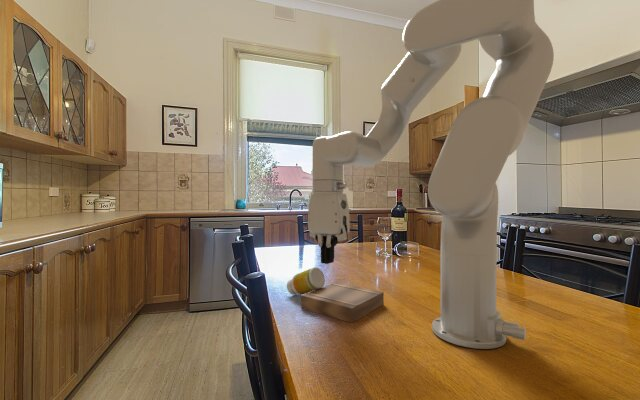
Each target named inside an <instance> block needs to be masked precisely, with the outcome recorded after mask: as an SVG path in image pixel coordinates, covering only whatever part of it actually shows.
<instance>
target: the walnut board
mask: <svg viewBox="0 0 640 400" xmlns="http://www.w3.org/2000/svg"><path fill="white" fill-rule="evenodd" d="M384 294H385V293H384V291H379V290H375V289H371V288H364V287H360V286H355V285H350V284H345V283H341V282H340V283H339V282H334V283H331V284H329V285H326V286H325V285H324V286H323V287H322V288H320V289H317V290H314V291H311V292H308V293H306V294H303V295H301V296H300V298H301V303H300V304H301V305H300V307H301V309H303V310H307V311H310V312H314V313H316V314H320V315H323V316H327V317H330V318H333V319H338V320H341V321H344V322H348V323H354V322H356V321H358V320H359V319H361V318H363V317H364V316H367V315H368V314H370V313H371V312H373V311H375V310H377V309H379V308H380V307H382V306H384V305H385V303H384Z"/></svg>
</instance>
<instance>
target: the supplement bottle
mask: <svg viewBox="0 0 640 400" xmlns="http://www.w3.org/2000/svg"><path fill="white" fill-rule="evenodd" d="M291 278H292V279H289V280H288V281H287V283H286V290H287V291H288V293H289V294H290V295H292V296H295V295H303V294H306V293H309V292H312V291H314V290H317V289H320V288H323V287H325V283H326V280H325V278H326V277H325V274H324V273H323V270H321V268H319V267H316V266H315V267H312V268H308V269H306V270H304V271H302V272H300V273H296V274H295V275H293V277H291ZM294 294H295V295H294Z"/></svg>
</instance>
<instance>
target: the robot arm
mask: <svg viewBox="0 0 640 400" xmlns="http://www.w3.org/2000/svg"><path fill="white" fill-rule="evenodd" d="M550 39H551V38H550V37H549V36H548V35H547V34H546V32H545V31H544V30H543V29H542V28H541V27H540V26H539V25H538V23H537V22H536V16H535V0H437V1H435V2H432V3H430V4H428V5H427V6H424V7H423V8H421V9H420V10H419V11H417V12H416V13H414V15H412V16H411V17H410V18H409V20H408V21H407V22H406V25H405V26H404V28H403V32H402V43H403V46H404V48H405V49H406V51H407V53H406V54H405V55H404V57H403V58H402V60H401V61H400V62H399V64H398V65H397V66H396V68H395V69H394V70H393V71H392V73H391V74H390V75H389V76H388V77H387V79H386V80H385V81H384V82H383V84H382V86H381V89H380V92H381V93H380V95H381V111H380V115H379V118H378V120H377V121H376V123H375V124H374V125H373V127H372V128H371V130H369V132H368V133H367V135H365V134H361V133H359V132H355V131H350V130H349V131H344V132H340V133H337V134H334V135H331V136H319V137H317V138H315V139H314V140H313V142H312V185H311V186H312V193H311V194H310V198H309V200H308V201H309V203H308V210H307V211H308V213H307V228H308V231H309V237H310V238H313V239H314V240H316V242H317V243H318V247H320V263H321V264H324V265H328V264H332V263H334V261H335V247H337V244H338V243H339V242H342V241H345V240H347V239H348V237H347V235H348V233H350V228H351V226H350V224H351V223H350V209H349V201H348V198H347V193H344V189H347V186H348V185H347V183H346V182H344V165H346V166H351V167H359V168H365V169H367V168H372V167H375V166H376V165H377V164H379V163H380V162H381V161H382V160H383V159H384V158H385V157H386V156H387V155H388V153H389V152H390V151H391V150H392V149H393V148H394V147H395V146H396V144H397V143H398V142H399V140H400V138H401V137H402V136H403V133H404V131H405V129H406V128H407V125H408V123H409V121H410V120H411V116H412V113H413V112H414V111H415V109H416V108H417V107H418V106H419V105H420V104H421V102H423V100H424V99H425V98H426V97H427V96H428V95H429V93H430V92H431V90H433V88H435V86H436V85H437V83H439V82H440V80H441V79H442V78H443V77H444V76H445V75H446V73H448V71H449V70H450V69H451V68H452V67H453V65H455V63H456V62H457V60H458V59H459V56H460V54H461V51H462V45H463V44H467V43H469V42H473V41H476V40H478V42H479V44H480V46H481V48H482V49H483V51H484V52H485V53H486V54H487V55H488V56H489V57H490V58H492V59H493V61H495V65H496V66H495V70H493V71H494V72H493V73H492V74H491V76H490V78H489V80H488V82H487V85H486V88H485V90H484V93H483V94H482V96H481V97H479V98H476V99H474V100H472V101H470V102H468V103H467V104H466V105H464V107H463V108H461V110H460V112H459V113H458V114H457V116H456V117H455V119H454V120H453V123H452V124H451V126H450V129H449V131H448V134H447V136H446V138H445V141H444V143H443V146H442V147H441V150H440V153H439V155H438V158H437V159H436V162H435V165H434V167H433V169H432V170H431V171H432V172H431V174H430V177H429V181H428V185H427V195H428V200H429V203H430V204H431V207H432V208H434V210H435V211H436V212H437V213H439V214H440V215H441V225H440V316H439V317H437V318H435V319H434V320H433V321H432V323H431V329H432V332H433V333H434V334H435V336H437V337H439V338H440V339H442V340H443V341H445V342H448V343H451V344H452V345H456V346H459V347H464V348H469V349H475V350H476V349H477V350H478V349H479V350H490V349H497V348H500V347H502V346H504V345H505V344H506V343H507V337H512V338H513V339H518V340H522V341H526V335H527V333H526V332H527V330H526V328H525V327H521V326H520V323H518V322H513V321H506V320H505V319H504V318H502V317H501V315H502V314H501V311H500V310H497V254H498V253H497V252H498V251H497V249H498V244H497V243H498V241H497V239H498V216H499V215H498V214H499V213H498V212H499V211H498V210H499V190H498V187H497V181H498V179H499V176H500V174H501V172H502V170H503V168H504V166H505V164H506V162H507V160H508V158H509V157H510V156H511V155H512V154H513V153H514V152H515V151H516V150H517V149H518V148H519V146H520V144H521V143H522V140H523V138H524V134H525V131H526V129H527V127H528V124H529V122H530V120H531V118H532V116H533V113H534V111H535V109H536V107H537V104H538V103H539V100H540V97H541V95H542V93H543V90H544V88H545V86H546V83H547V82H548V79H549V77H550V74H551V71H552V68H553V65H554V60H555V59H554V47H553V44H552V42H551V40H550Z"/></svg>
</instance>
